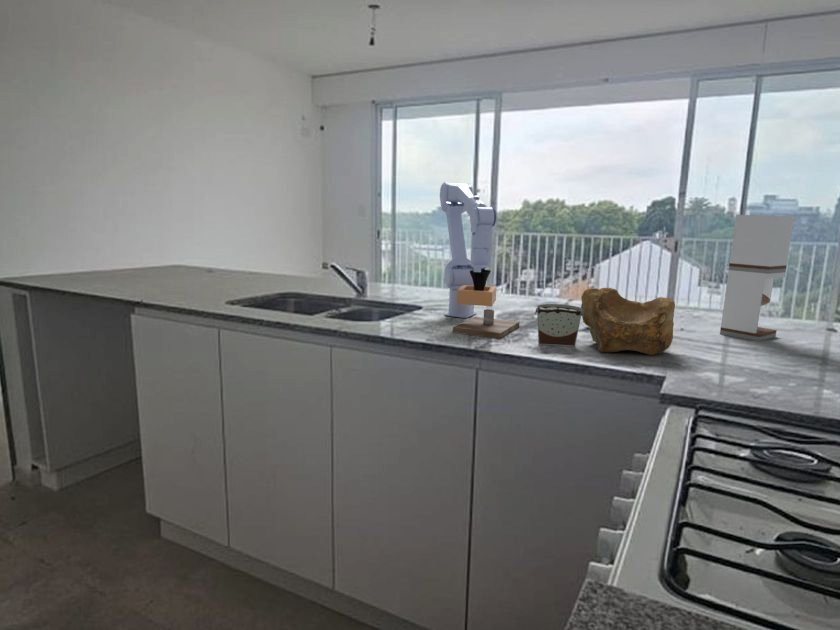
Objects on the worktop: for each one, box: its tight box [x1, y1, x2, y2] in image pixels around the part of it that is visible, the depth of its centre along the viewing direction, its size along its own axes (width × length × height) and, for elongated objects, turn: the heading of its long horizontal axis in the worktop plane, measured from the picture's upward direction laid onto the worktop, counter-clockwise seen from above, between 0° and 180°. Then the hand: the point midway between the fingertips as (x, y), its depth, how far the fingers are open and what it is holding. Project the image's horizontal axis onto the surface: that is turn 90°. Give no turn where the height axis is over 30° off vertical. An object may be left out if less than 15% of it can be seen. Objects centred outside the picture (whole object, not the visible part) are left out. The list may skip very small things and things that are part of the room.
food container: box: [534, 303, 584, 347], centre depth 141 cm, size 12×6×10 cm, turn 84°
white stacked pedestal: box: [719, 214, 795, 342], centre depth 156 cm, size 11×11×35 cm
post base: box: [452, 308, 521, 339], centre depth 156 cm, size 19×14×6 cm
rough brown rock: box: [580, 287, 676, 356], centre depth 135 cm, size 23×17×15 cm
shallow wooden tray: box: [457, 285, 497, 307], centre depth 156 cm, size 10×10×4 cm
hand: (479, 294), depth 160 cm, fingers closed on shallow wooden tray
